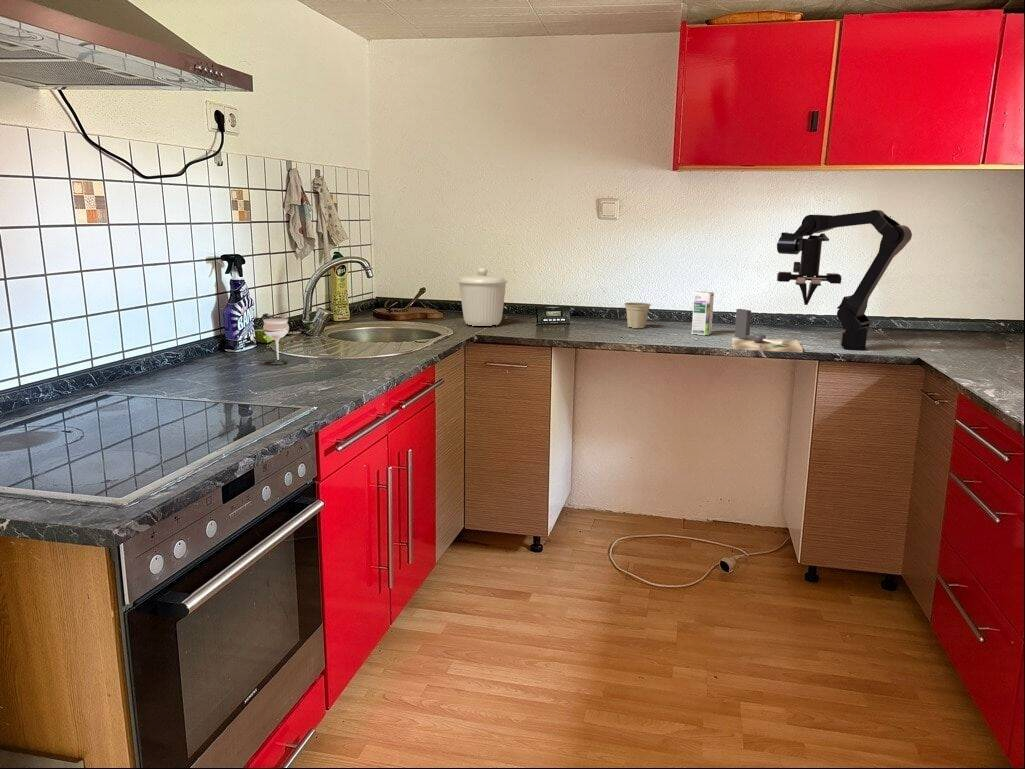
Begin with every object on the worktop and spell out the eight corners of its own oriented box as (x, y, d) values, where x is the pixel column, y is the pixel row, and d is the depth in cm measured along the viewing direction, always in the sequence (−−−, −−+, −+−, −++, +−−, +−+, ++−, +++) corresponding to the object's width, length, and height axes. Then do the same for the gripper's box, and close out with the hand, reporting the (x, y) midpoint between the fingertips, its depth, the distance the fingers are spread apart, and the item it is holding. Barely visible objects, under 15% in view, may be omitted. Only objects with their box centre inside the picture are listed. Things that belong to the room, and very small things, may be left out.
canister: (515, 323, 287) (515, 266, 282) (494, 330, 271) (494, 269, 266) (472, 320, 294) (471, 265, 289) (449, 327, 278) (448, 268, 273)
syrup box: (690, 334, 263) (693, 292, 259) (695, 332, 268) (697, 290, 265) (707, 336, 260) (710, 293, 257) (711, 333, 265) (714, 291, 262)
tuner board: (797, 343, 246) (797, 339, 246) (802, 352, 230) (802, 348, 230) (732, 340, 251) (732, 336, 251) (733, 349, 235) (733, 345, 235)
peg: (740, 336, 251) (742, 308, 249) (786, 345, 233) (789, 316, 231) (732, 336, 250) (734, 309, 248) (777, 346, 232) (780, 316, 230)
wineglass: (285, 366, 207) (282, 321, 204) (261, 365, 208) (258, 321, 205) (295, 361, 214) (292, 318, 211) (271, 360, 214) (269, 317, 212)
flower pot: (650, 326, 282) (651, 302, 280) (649, 330, 273) (650, 305, 271) (624, 325, 284) (625, 302, 282) (622, 329, 275) (623, 305, 273)
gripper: (839, 254, 247) (833, 303, 251) (778, 253, 252) (773, 300, 256) (844, 256, 237) (838, 307, 240) (780, 255, 242) (775, 304, 245)
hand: (805, 304), depth 246 cm, fingers closed
